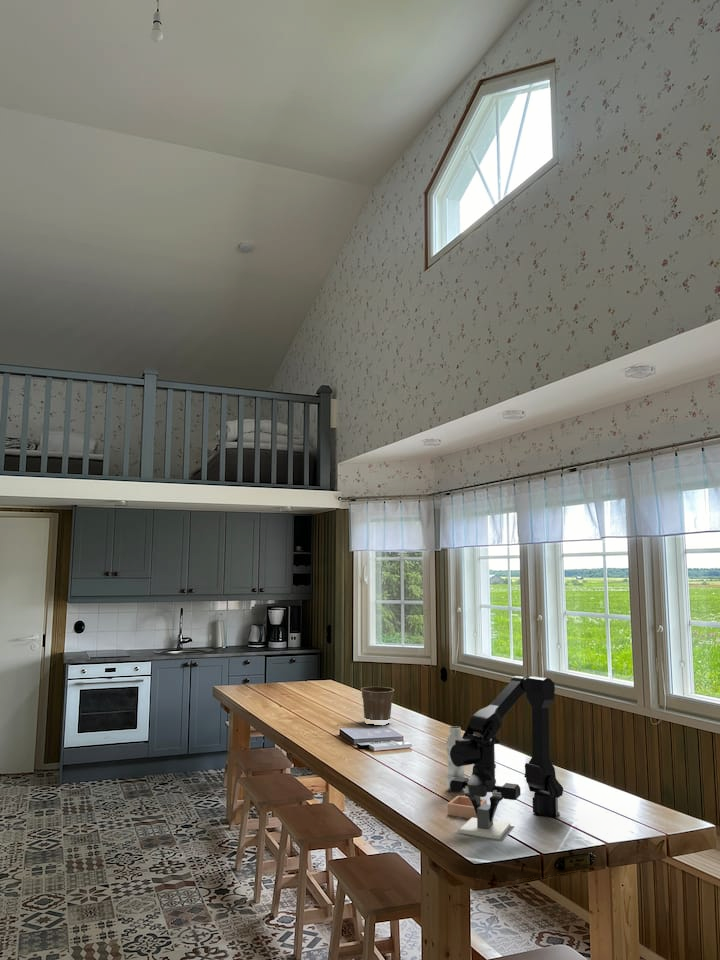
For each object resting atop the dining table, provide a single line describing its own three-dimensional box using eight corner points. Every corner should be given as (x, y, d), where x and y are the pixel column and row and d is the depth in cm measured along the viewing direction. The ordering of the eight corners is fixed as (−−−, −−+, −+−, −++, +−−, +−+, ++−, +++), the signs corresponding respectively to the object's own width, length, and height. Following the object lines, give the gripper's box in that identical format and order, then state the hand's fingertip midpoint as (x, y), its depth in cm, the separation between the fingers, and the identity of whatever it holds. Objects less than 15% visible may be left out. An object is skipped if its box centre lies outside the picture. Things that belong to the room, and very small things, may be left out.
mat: (514, 828, 202) (514, 826, 202) (502, 843, 190) (502, 841, 190) (469, 821, 207) (469, 819, 207) (455, 835, 196) (455, 833, 196)
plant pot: (401, 725, 343) (400, 690, 345) (371, 728, 335) (371, 692, 337) (382, 719, 357) (382, 685, 359) (354, 722, 349) (354, 687, 351)
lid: (510, 826, 201) (509, 804, 202) (499, 839, 191) (499, 815, 192) (472, 820, 206) (471, 798, 207) (459, 832, 196) (459, 809, 197)
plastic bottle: (463, 787, 241) (462, 725, 244) (467, 793, 234) (466, 729, 237) (444, 787, 241) (443, 725, 244) (447, 793, 234) (447, 729, 237)
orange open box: (486, 813, 215) (486, 799, 216) (477, 822, 207) (477, 808, 208) (457, 809, 219) (457, 795, 220) (447, 818, 211) (447, 803, 212)
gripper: (442, 764, 198) (443, 824, 196) (509, 772, 190) (511, 835, 188) (455, 755, 208) (456, 812, 206) (520, 762, 200) (521, 822, 198)
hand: (485, 820), depth 199 cm, fingers closed on lid, 3 cm apart
